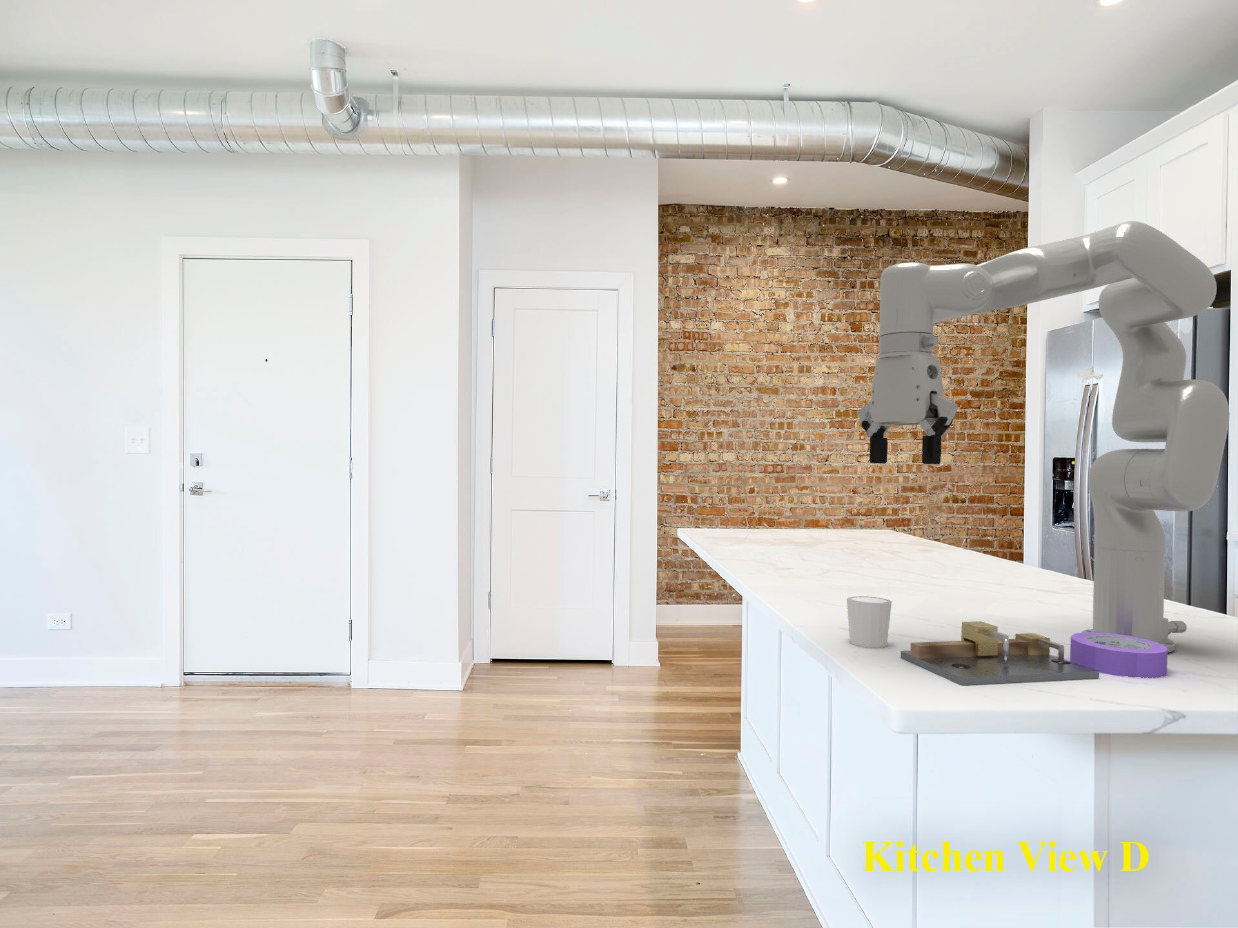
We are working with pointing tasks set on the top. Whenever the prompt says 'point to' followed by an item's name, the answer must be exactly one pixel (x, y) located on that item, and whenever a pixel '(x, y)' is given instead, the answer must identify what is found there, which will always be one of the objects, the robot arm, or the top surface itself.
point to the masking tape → (1119, 654)
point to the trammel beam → (1019, 645)
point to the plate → (1003, 668)
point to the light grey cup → (868, 620)
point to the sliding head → (985, 638)
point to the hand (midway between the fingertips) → (903, 463)
